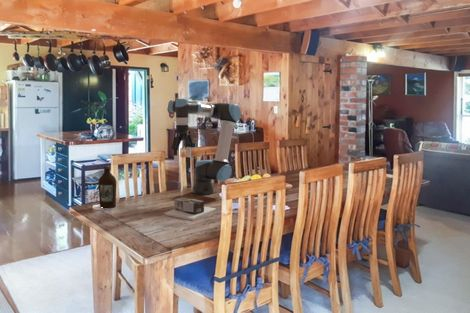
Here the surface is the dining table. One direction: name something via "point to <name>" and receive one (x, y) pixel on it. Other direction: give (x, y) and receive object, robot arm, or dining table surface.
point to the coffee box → (189, 205)
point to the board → (187, 215)
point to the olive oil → (107, 189)
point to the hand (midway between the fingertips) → (182, 158)
